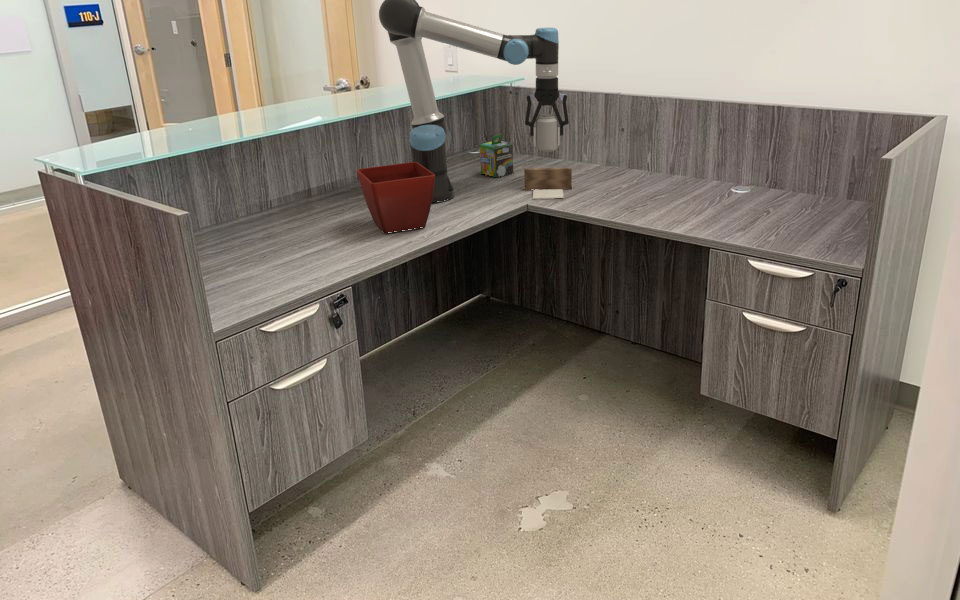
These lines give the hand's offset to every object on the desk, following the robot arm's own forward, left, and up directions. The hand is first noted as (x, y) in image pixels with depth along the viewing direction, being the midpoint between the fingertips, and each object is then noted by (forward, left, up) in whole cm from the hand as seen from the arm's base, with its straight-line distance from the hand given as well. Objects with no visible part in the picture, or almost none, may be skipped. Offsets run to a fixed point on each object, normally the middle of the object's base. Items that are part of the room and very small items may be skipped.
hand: (546, 145), depth 263 cm
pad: (-8, -12, -14) cm, 20 cm away
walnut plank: (-4, -6, -14) cm, 15 cm away
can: (0, 0, -2) cm, 2 cm away
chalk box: (-6, +24, -14) cm, 28 cm away
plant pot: (-62, -11, -14) cm, 65 cm away
